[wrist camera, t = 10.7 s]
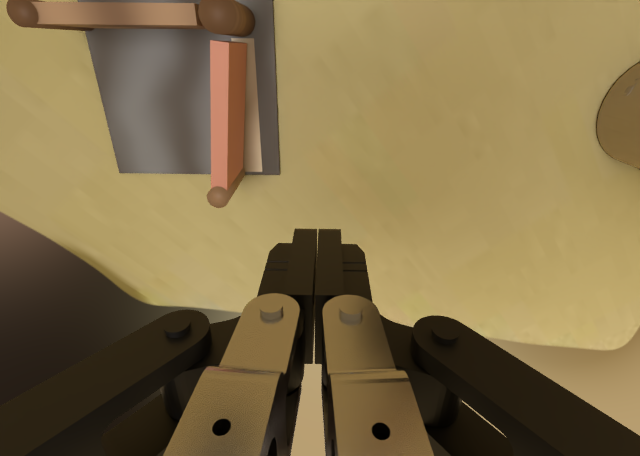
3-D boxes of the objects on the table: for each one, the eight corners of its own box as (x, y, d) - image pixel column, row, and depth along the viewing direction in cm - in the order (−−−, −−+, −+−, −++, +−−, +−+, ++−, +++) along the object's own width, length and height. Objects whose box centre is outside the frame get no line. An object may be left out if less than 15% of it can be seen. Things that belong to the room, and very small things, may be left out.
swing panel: (229, 40, 29) (205, 39, 23) (249, 43, 29) (230, 42, 23) (227, 179, 34) (207, 206, 28) (244, 181, 34) (228, 209, 28)
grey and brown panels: (272, -17, 28) (255, -37, 21) (280, 174, 34) (268, 204, 28) (68, -19, 28) (-13, -39, 21) (115, 171, 35) (65, 202, 28)
